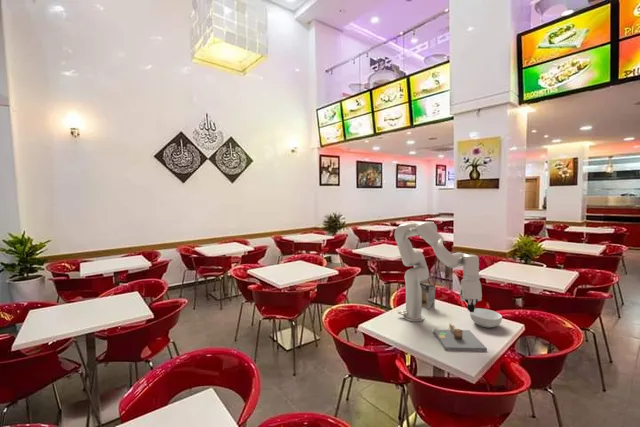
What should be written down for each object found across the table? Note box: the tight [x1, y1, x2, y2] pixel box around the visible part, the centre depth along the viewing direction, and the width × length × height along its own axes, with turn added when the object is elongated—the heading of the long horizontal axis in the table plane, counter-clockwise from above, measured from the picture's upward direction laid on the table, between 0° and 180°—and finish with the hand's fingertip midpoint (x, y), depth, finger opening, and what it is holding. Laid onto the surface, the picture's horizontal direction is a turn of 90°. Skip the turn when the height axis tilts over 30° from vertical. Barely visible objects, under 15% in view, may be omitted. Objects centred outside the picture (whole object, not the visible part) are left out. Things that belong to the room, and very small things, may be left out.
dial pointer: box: [448, 322, 463, 340], centre depth 166 cm, size 13×4×4 cm, turn 177°
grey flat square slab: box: [432, 329, 488, 352], centre depth 161 cm, size 20×20×2 cm
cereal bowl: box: [469, 307, 503, 329], centre depth 181 cm, size 17×17×7 cm
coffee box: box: [420, 281, 436, 310], centre depth 211 cm, size 9×6×16 cm
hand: (470, 311), depth 164 cm, fingers closed
